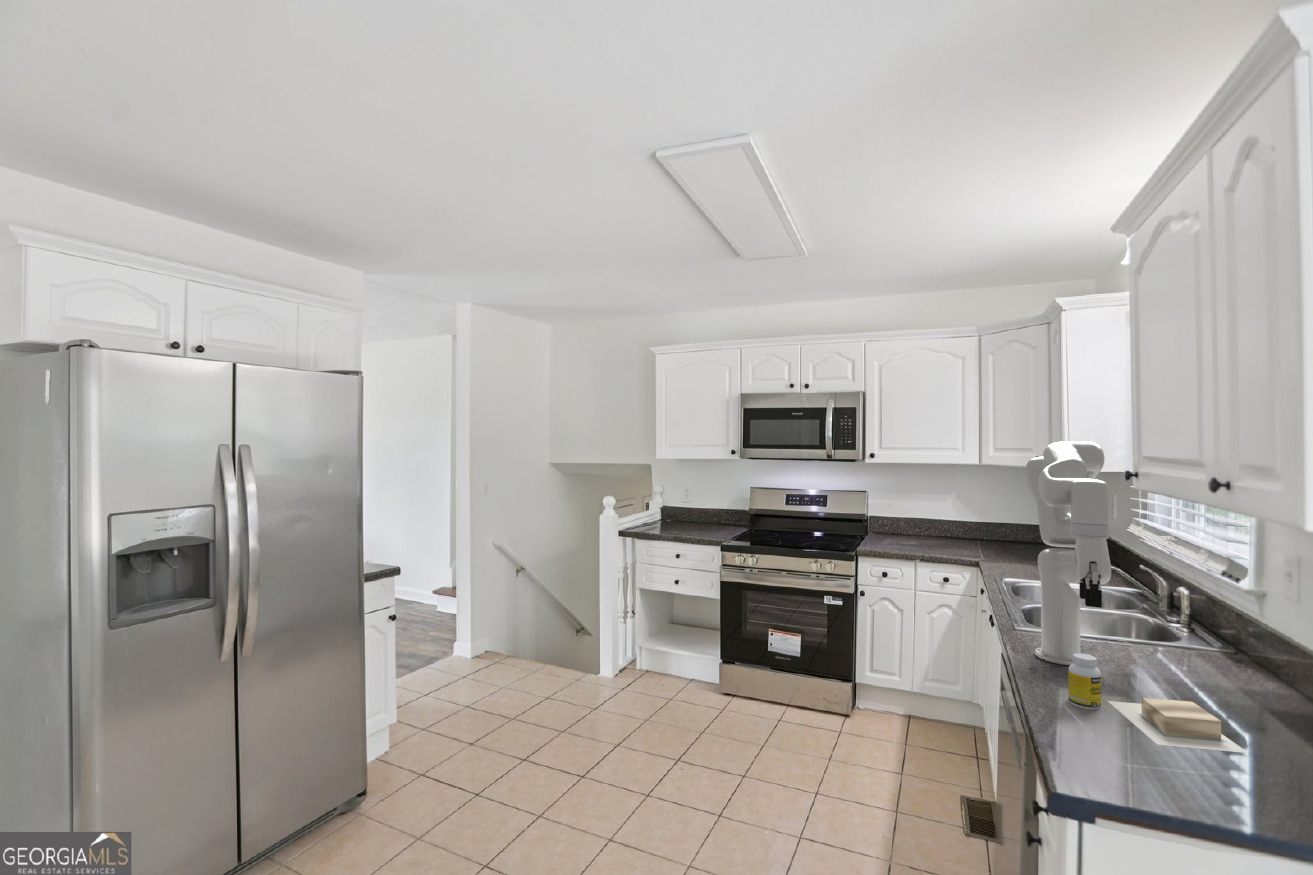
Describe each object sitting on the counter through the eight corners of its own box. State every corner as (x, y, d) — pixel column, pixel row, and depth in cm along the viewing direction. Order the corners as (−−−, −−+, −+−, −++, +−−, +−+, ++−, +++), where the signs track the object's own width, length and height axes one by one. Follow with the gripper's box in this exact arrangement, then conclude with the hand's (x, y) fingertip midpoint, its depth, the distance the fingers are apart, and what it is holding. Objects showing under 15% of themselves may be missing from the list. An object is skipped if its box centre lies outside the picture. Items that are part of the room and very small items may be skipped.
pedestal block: (1141, 715, 145) (1141, 697, 145) (1192, 719, 142) (1192, 701, 142) (1166, 735, 135) (1166, 716, 135) (1221, 740, 133) (1221, 721, 133)
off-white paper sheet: (1107, 702, 152) (1107, 700, 152) (1184, 708, 149) (1184, 707, 149) (1157, 746, 131) (1157, 744, 131) (1248, 754, 127) (1248, 753, 127)
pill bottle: (1086, 712, 147) (1086, 662, 147) (1061, 701, 153) (1061, 653, 153) (1108, 709, 149) (1108, 659, 148) (1082, 698, 155) (1083, 650, 155)
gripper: (1067, 527, 162) (1067, 594, 161) (1075, 533, 147) (1076, 607, 146) (1102, 529, 159) (1103, 598, 158) (1115, 535, 143) (1116, 612, 143)
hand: (1090, 602), depth 152 cm, fingers open, 9 cm apart
